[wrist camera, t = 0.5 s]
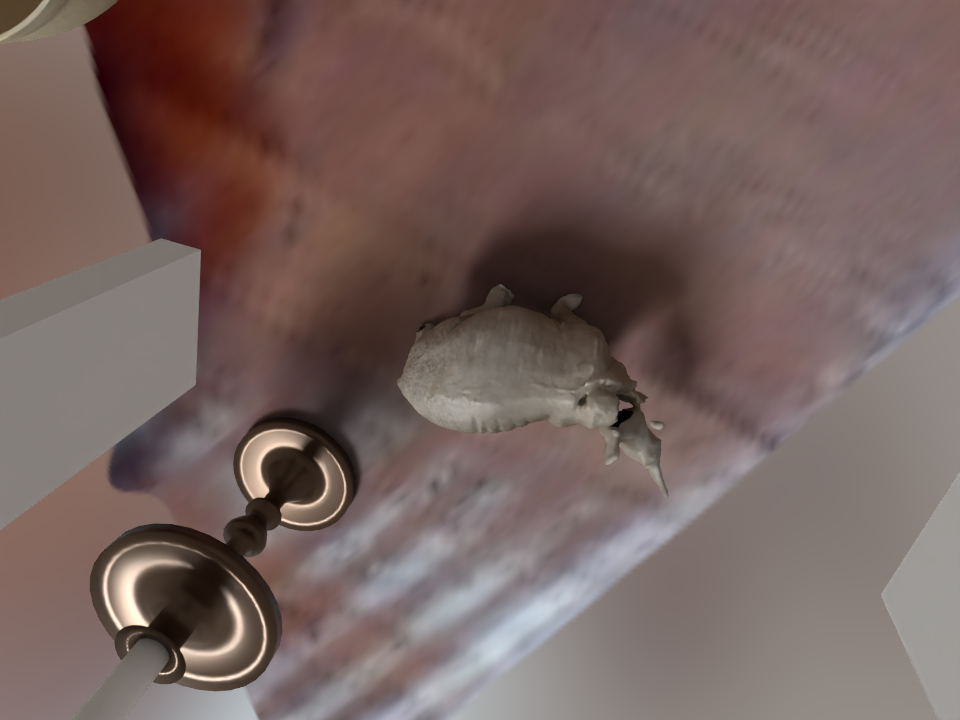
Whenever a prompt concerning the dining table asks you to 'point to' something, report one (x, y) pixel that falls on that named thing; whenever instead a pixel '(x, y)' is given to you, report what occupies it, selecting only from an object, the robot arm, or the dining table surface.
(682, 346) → the dining table surface
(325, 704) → the dining table surface
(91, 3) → the planter bowl
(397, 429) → the dining table surface
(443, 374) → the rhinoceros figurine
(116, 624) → the candlestick
